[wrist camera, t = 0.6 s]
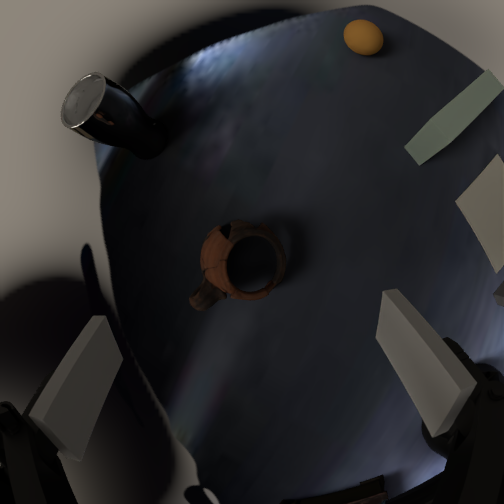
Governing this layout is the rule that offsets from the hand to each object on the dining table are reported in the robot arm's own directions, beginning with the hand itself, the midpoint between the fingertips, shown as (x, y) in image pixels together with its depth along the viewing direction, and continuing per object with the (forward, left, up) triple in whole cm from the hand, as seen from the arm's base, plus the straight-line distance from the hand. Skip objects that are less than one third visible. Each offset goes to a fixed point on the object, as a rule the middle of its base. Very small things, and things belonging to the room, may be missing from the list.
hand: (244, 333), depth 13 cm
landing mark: (-13, -29, -22) cm, 39 cm away
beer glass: (+26, +3, -22) cm, 34 cm away
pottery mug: (+5, +3, -22) cm, 23 cm away
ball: (+17, -29, -19) cm, 39 cm away
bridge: (+1, -29, -22) cm, 37 cm away
